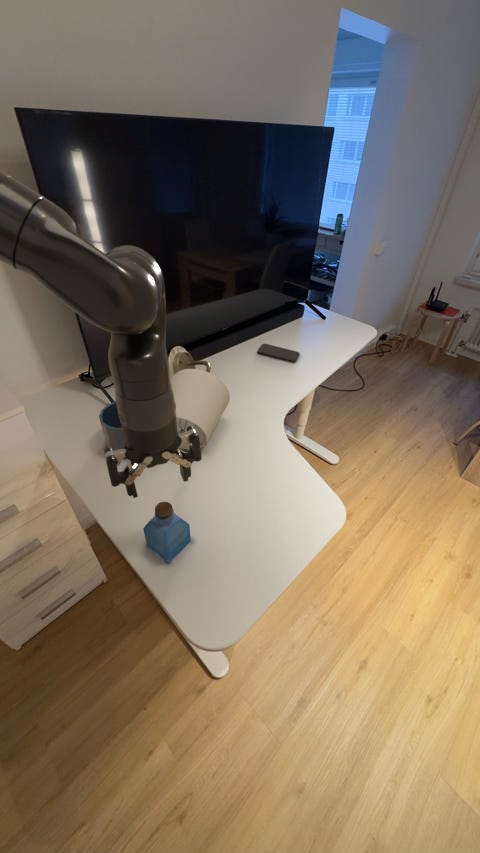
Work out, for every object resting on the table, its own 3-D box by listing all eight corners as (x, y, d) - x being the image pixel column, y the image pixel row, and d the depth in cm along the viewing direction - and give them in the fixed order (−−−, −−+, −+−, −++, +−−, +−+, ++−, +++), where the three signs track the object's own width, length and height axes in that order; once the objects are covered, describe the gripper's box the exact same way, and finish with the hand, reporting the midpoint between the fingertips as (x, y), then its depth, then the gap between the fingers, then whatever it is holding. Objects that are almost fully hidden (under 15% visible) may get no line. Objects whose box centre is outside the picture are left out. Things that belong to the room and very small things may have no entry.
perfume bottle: (168, 563, 67) (162, 530, 59) (147, 545, 69) (138, 510, 61) (190, 541, 71) (188, 506, 63) (169, 524, 73) (164, 489, 65)
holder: (111, 463, 85) (103, 434, 78) (104, 434, 92) (95, 405, 86) (158, 451, 89) (153, 422, 82) (147, 423, 97) (142, 395, 90)
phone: (295, 361, 125) (256, 351, 128) (294, 363, 125) (256, 353, 129) (300, 352, 130) (263, 342, 134) (299, 354, 131) (262, 344, 134)
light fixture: (249, 370, 109) (224, 454, 88) (197, 375, 116) (161, 455, 94) (234, 325, 98) (201, 408, 76) (176, 333, 104) (131, 412, 83)
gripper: (188, 385, 52) (192, 458, 63) (88, 407, 47) (112, 482, 58) (206, 415, 47) (207, 488, 58) (97, 443, 42) (121, 517, 53)
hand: (159, 485), depth 58 cm, fingers open, 8 cm apart
